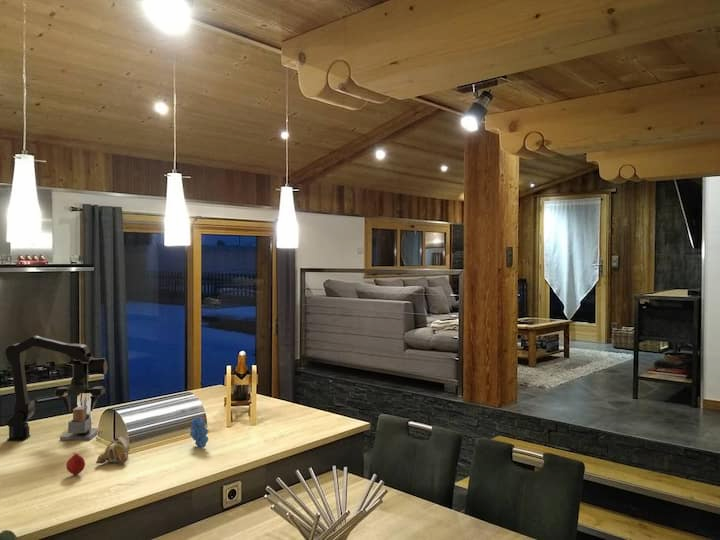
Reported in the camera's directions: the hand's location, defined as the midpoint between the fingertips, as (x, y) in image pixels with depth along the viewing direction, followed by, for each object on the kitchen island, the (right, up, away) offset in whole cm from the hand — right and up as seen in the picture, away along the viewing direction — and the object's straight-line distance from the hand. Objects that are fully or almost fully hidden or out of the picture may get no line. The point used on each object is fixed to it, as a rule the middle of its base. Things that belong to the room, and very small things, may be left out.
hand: (80, 411), depth 246 cm
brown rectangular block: (0, -8, 0) cm, 8 cm away
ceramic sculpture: (+27, -12, -28) cm, 40 cm away
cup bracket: (0, -11, +1) cm, 11 cm away
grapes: (+53, -12, -11) cm, 55 cm away
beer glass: (-7, -11, +19) cm, 23 cm away
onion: (+19, -12, -42) cm, 48 cm away
